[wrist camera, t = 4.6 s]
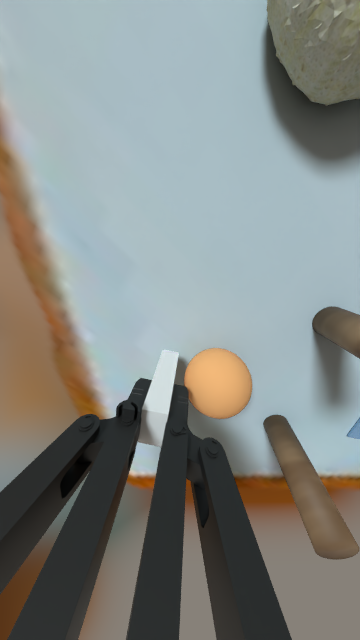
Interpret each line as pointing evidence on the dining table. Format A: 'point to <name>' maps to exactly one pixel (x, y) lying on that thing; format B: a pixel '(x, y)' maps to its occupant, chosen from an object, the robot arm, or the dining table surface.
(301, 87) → the sea urchin shell
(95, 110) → the dining table surface
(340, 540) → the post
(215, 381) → the ball
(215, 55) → the dining table surface
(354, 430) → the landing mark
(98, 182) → the dining table surface
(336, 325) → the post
